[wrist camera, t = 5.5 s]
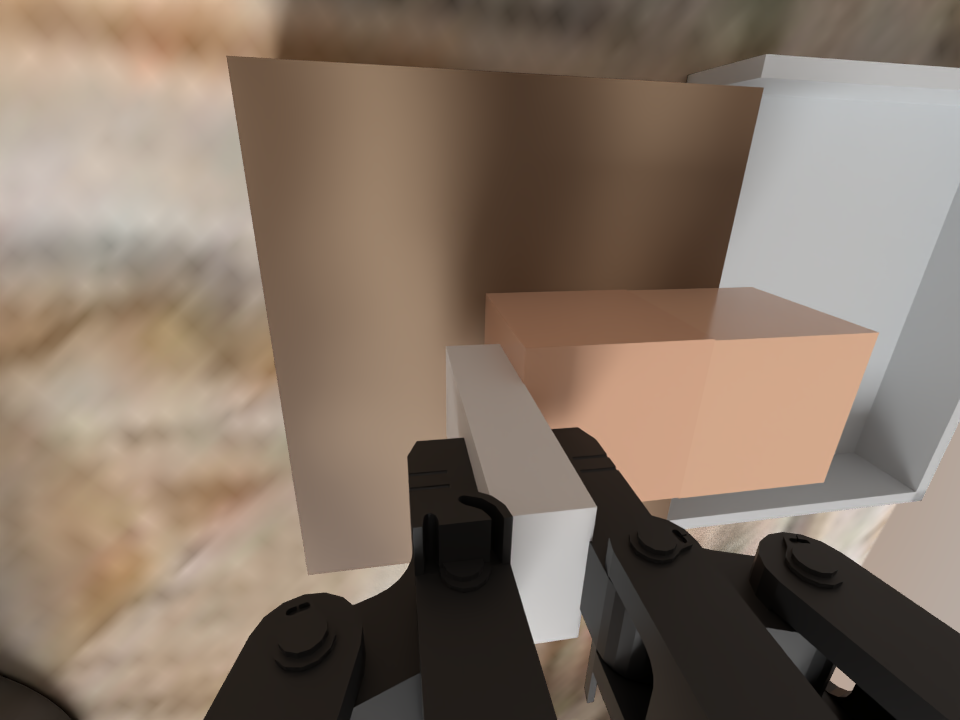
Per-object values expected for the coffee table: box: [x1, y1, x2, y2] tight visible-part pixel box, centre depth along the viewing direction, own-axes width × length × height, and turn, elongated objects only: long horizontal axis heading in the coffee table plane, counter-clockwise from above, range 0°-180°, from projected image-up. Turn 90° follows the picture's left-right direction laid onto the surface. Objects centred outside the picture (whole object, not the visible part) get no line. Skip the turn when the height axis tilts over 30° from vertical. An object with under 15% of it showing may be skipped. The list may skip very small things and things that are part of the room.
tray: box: [667, 54, 960, 529], centre depth 20 cm, size 14×18×4 cm
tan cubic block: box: [628, 287, 879, 498], centre depth 14 cm, size 4×4×4 cm
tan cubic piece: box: [484, 290, 715, 502], centre depth 13 cm, size 4×4×4 cm
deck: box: [226, 56, 764, 575], centre depth 17 cm, size 14×16×5 cm
